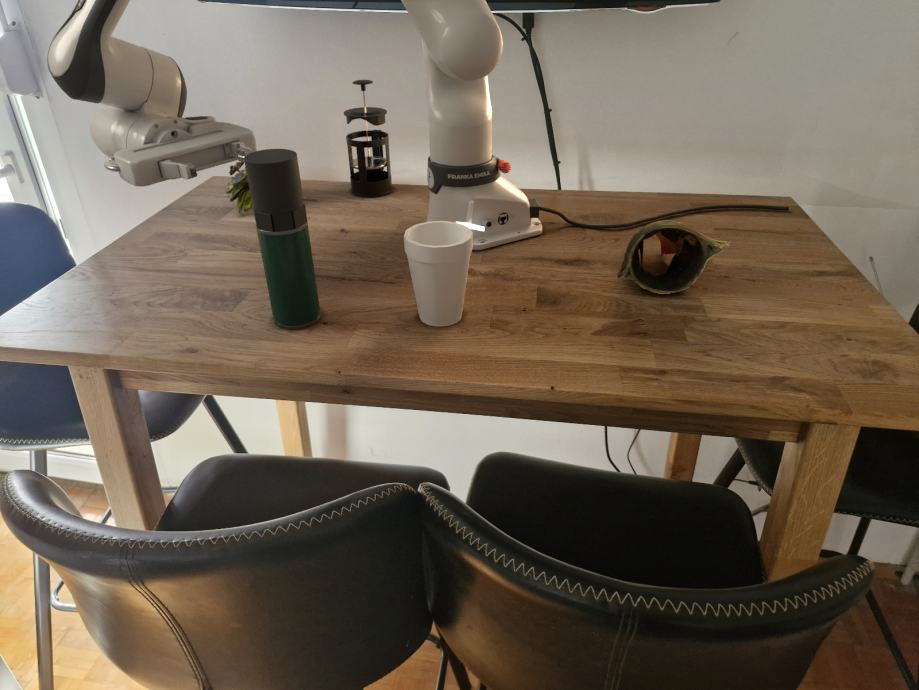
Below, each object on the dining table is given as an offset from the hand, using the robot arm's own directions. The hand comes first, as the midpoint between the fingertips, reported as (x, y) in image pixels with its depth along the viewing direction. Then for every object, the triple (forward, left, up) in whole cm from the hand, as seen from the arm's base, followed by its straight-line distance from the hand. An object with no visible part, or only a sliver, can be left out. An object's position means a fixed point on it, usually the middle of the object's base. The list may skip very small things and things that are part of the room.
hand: (221, 163), depth 90 cm
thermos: (-6, +10, -21) cm, 24 cm away
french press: (-30, -42, -21) cm, 56 cm away
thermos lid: (-6, +10, -6) cm, 13 cm away
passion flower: (-5, -41, -21) cm, 47 cm away
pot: (-63, +19, -21) cm, 69 cm away
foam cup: (-26, +16, -21) cm, 38 cm away
